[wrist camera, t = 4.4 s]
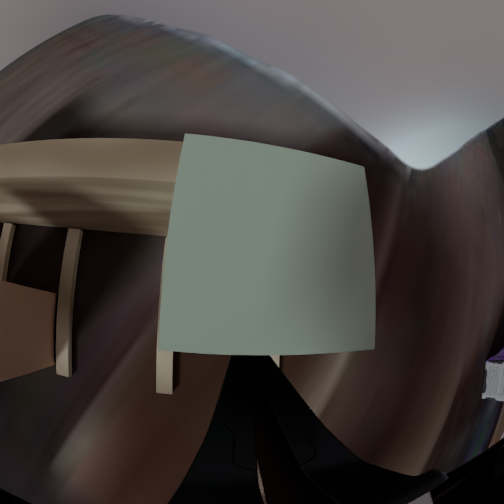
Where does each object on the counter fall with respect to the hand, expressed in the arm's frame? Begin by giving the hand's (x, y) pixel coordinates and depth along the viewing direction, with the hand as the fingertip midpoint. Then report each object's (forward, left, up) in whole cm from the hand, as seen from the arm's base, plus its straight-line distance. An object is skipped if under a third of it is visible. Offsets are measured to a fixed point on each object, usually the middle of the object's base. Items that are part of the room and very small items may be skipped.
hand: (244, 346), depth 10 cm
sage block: (+3, -1, -8) cm, 8 cm away
